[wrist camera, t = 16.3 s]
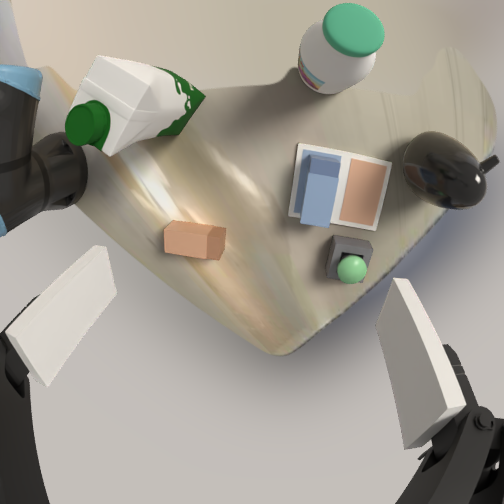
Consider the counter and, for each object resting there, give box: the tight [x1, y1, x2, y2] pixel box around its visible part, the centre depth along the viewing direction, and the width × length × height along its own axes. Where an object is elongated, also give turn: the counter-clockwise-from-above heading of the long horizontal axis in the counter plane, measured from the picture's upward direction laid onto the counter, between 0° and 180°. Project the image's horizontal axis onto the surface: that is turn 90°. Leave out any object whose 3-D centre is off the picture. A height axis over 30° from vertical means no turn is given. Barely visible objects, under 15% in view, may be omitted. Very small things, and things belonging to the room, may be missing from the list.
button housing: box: [325, 235, 373, 283], centre depth 42 cm, size 6×6×3 cm
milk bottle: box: [298, 3, 384, 94], centre depth 22 cm, size 8×8×20 cm
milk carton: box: [65, 55, 206, 157], centre depth 27 cm, size 9×9×20 cm
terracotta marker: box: [164, 220, 226, 260], centre depth 44 cm, size 9×4×4 cm, turn 84°
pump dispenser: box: [403, 131, 499, 210], centre depth 28 cm, size 10×10×15 cm
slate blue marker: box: [300, 154, 341, 228], centre depth 37 cm, size 9×4×4 cm, turn 174°
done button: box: [337, 254, 367, 284], centre depth 40 cm, size 4×4×3 cm
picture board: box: [288, 143, 392, 231], centre depth 38 cm, size 14×11×1 cm
